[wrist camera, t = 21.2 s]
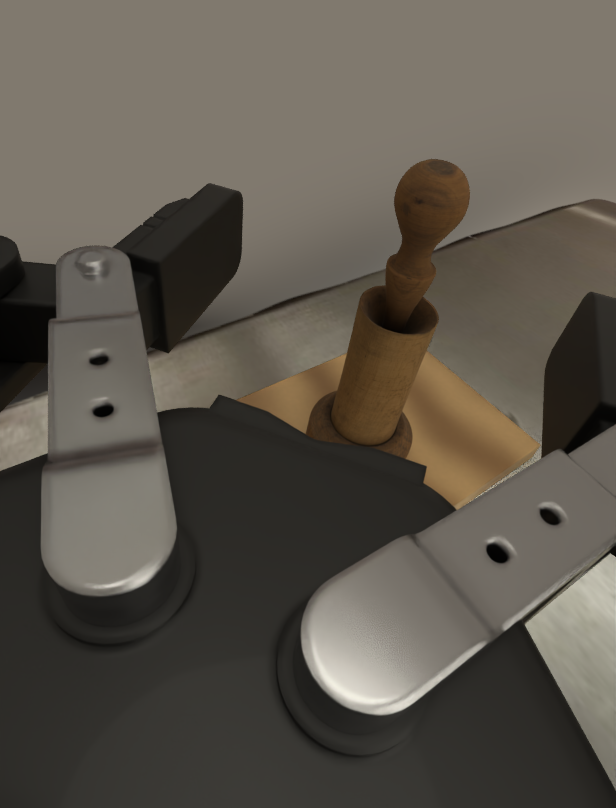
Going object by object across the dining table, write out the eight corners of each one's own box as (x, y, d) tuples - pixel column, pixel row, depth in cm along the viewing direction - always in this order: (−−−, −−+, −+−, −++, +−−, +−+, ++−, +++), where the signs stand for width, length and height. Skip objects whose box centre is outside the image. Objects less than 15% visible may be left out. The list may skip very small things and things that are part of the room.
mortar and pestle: (415, 491, 32) (552, 211, 19) (311, 494, 31) (380, 200, 18) (390, 410, 36) (488, 139, 23) (298, 410, 35) (347, 126, 22)
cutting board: (397, 343, 44) (402, 329, 43) (531, 457, 37) (541, 444, 36) (179, 438, 34) (178, 423, 33) (306, 617, 27) (310, 606, 26)
